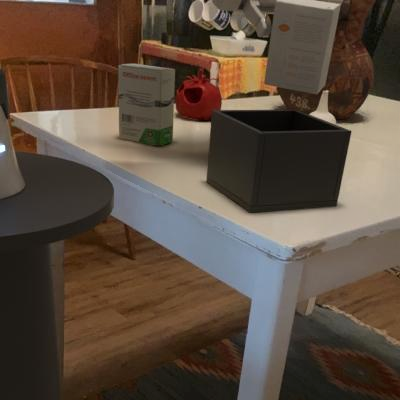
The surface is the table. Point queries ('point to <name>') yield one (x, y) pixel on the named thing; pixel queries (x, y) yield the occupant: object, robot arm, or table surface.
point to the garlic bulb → (324, 109)
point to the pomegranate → (198, 98)
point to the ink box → (146, 103)
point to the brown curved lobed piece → (342, 67)
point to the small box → (301, 44)
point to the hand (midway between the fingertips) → (290, 35)
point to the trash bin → (276, 159)
